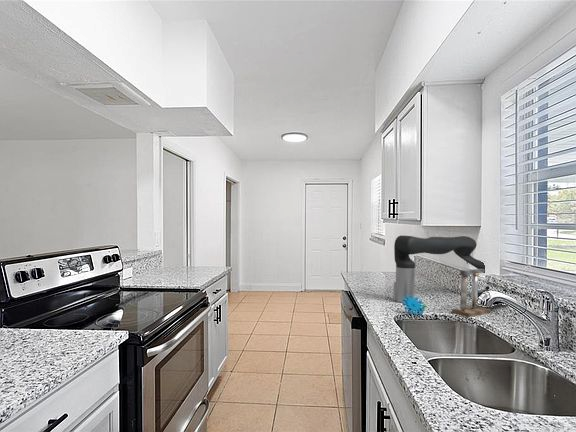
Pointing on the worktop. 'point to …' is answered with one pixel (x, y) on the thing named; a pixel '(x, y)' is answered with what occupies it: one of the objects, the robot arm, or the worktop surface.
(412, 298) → the robot arm
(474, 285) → the clear glass tube
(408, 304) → the gear
